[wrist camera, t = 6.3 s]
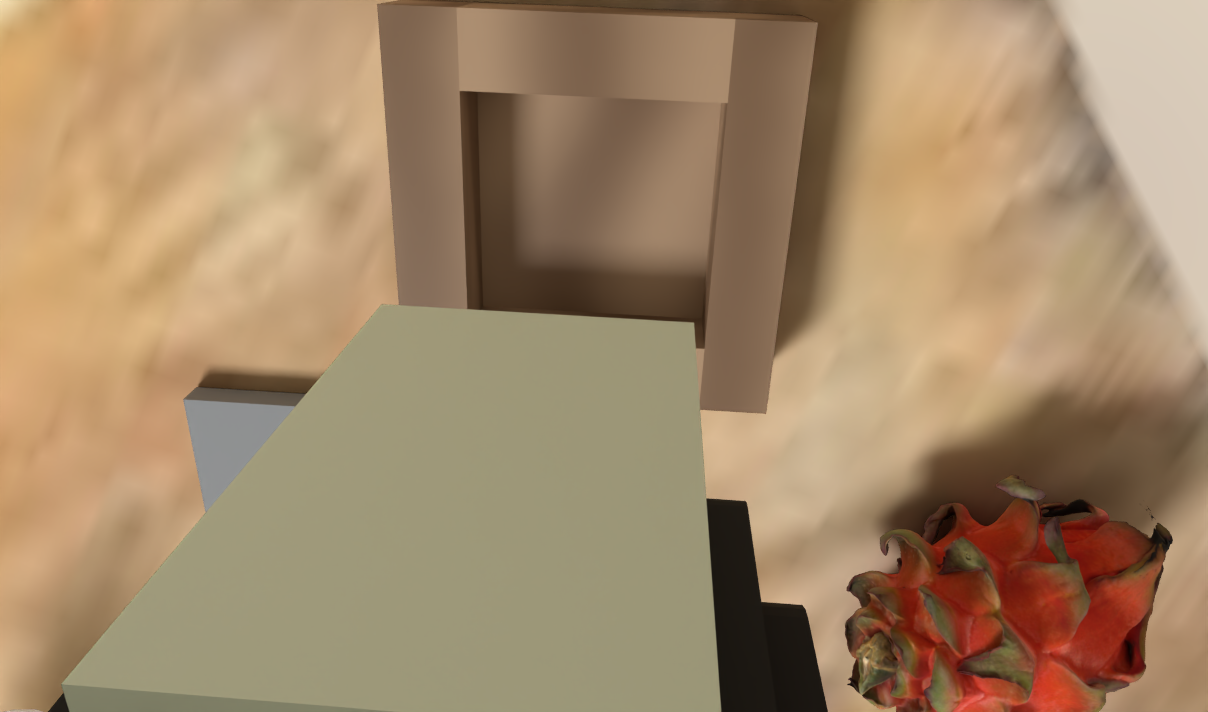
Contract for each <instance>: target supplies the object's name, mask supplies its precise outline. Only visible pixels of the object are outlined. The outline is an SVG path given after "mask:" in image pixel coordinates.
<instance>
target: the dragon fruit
mask: <svg viewBox="0 0 1208 712" xmlns="http://www.w3.org/2000/svg"><path fill="white" fill-rule="evenodd" d="M995 486H996V487H997V488H999V489H1001V490H1003V491H1005V492H1007V493H1008V494H1009V495H1011V496H1013V497H1016V498H1015V499H1014V500H1013V501H1012V502H1011V504H1010V505H1009V506H1008V508H1007V509H1006V511H1005V512H1004V513H1003V514H1002V515H1001V516H1000V517H999V518H998V519H997V521H996V522H994V523H993V524H991V525H989V526H983V525H980V524H979V523H978V522H976V521H975V520H974V519H972V517H971V516H970V514H969V512H968V510H967V509H966V507H965V506H963V505H962V504H960V503H947V504H944V505H941V506H940V507H939V509H938V511H937V512H936V513H935V514H933V515H931V516H930V517H929V518H928V519H927V521H926V522H925V524H924V530H925V533H924V534H923V536H922V537H921V536H920V535H919V534H917V533H915V532H913V531H910V530H906V529H896V530H892V531H889V532H887V533H885V534H884V535H883V536H882V537H881V538H880V547H881V551H882V552H883V554H884V555H885V556H886V555H887V553H888V548H889V547H888V542H889V540H891V539H892V538H893V537H895V538H896V539H897V540H898V543H899V546H900V551H901V558H898V559H897V562H898V565H897V566H898V569H899V573H898V574H886V573H882V572H879V571H868V572H865V573H862V574H859V575H856V576H854V577H853V578H852V579H851V581H850V582H849V585H848V586H847V591H848V592H849V591H850V592H851V593H852V594H853V595H854V596H855V597H857V598H858V599H859V601H860V604H861V607H862V608H860V609H858V610H857V611H856V612H855V613H854V615H853V616H851V617H850V618H849V619H848V620H847V621H846V623H845V628H846V629H845V636H846V639H847V646H848V649H849V652H850V653H851V655H852V656H853V657H854V658H856V661H855V664H854V666H853V670H852V678H850V679H848V680H850V681H851V683H850V684H847V685H850V686H852V687H854V688H855V690H856V691H857V692H858V693H860V694H861V695H862V696H863V697H864V698H865V699H867V700H868V701H869V702H870V703H871V704H873V705H874V706H876V707H877V708H879V709H887V708H891V707H894V706H896V712H1099V711H1100V710H1101V709H1102V708H1103V706H1104V705H1105V703H1106V693H1108V692H1115V691H1117V690H1119V689H1122V688H1125V687H1127V686H1129V683H1132V682H1135V681H1137V680H1139V679H1140V678H1141V677H1142V675H1143V673H1144V671H1145V669H1146V665H1145V663H1144V661H1145V637H1146V630H1147V625H1148V620H1149V617H1150V615H1151V614H1152V611H1153V602H1154V598H1155V594H1156V591H1157V589H1158V585H1159V581H1160V578H1161V575H1162V572H1163V569H1164V568H1163V562H1164V560H1165V557H1166V555H1165V554H1166V552H1167V550H1168V549H1169V546H1170V544H1172V541H1173V539H1172V536H1171V535H1170V533H1169V531H1168V530H1167V529H1166V528H1165V527H1163V526H1162V525H1161V524H1160V523H1157V525H1156V530H1155V528H1154V532H1153V535H1152V537H1151V538H1149V537H1148V535H1146V534H1144V533H1141V532H1140V531H1139V530H1137V529H1136V528H1134V527H1133V526H1130V525H1129V524H1128V523H1127V522H1118V521H1109V516H1108V514H1107V513H1106V512H1105V511H1104V510H1102V509H1100V508H1098V507H1096V506H1094V505H1092V504H1090V503H1088V502H1086V501H1084V500H1076V501H1074V502H1071V503H1070V504H1069V505H1067V506H1066V505H1065V504H1064V503H1062V502H1057V503H1051V504H1045V503H1044V504H1043V505H1041V506H1039V504H1038V502H1037V501H1036V500H1040V499H1042V498H1044V497H1046V495H1045V493H1044V492H1043V491H1042V490H1039V489H1037V488H1034V487H1031V486H1027V485H1025V481H1024V480H1020V479H1019V476H1016V475H1011V476H1009V477H1007V478H1006V479H1003V480H1001V481H999V482H998V483H997V484H996V485H995ZM1043 509H1048V510H1049V512H1048V513H1045V514H1042V512H1041V510H1043ZM1148 509H1149V508H1148ZM1081 512H1089V513H1092V514H1091V515H1089V516H1087V517H1085V518H1083V519H1080V520H1075V521H1068V522H1064V523H1059V518H1058V516H1065V515H1069V514H1075V513H1081ZM1151 515H1152V514H1151ZM951 516H953V523H952V528H951V530H950V532H949V533H948V534H947V535H946V536H945V537H944V538H942V539H941V540H939V541H938V542H937V543H935V544H934V545H932V543H933V541H934V540H935V538H936V537H937V534H938V531H939V528H940V526H941V524H942V522H943V520H946V519H948V518H949V517H951ZM1055 516H1056V517H1055ZM1041 517H1055V518H1051V519H1050V520H1048V521H1047V523H1046V524H1040V521H1041ZM1151 517H1152V518H1154V517H1153V516H1151ZM1154 519H1155V518H1154Z"/></svg>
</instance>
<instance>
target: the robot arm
mask: <svg viewBox="0 0 1208 712" xmlns="http://www.w3.org/2000/svg"><path fill="white" fill-rule="evenodd" d="M706 501H707V516H708V530H709V544H710V559H711V573H712V587H713V601H714V616H715V630H716V644H717V659H718V673H719V687H720V701H721V712H828V710H827V706H826V701H825V696H824V692H823V687H822V682H821V677H820V673H819V668H818V663H817V658H816V654H815V649H814V644H813V640H812V635H811V630H810V625H809V621H808V617H807V613H806V610H805V608H804V607H803V605H793V604H780V603H767V602H761V597H760V590H759V583H758V576H757V569H756V562H755V555H754V548H753V541H752V534H751V527H750V520H749V514H748V507H747V502H746V501H735V500H721V499H706ZM5 712H43V711H40V710H36V709H23V710H10V711H5ZM48 712H69V708H68V705H67V702H66V699H65V695H64V693H63V694H62V696H61V697H60V698H59V699H58V700H57V702H56V703H55V704H54V705H53V706H52V708H51V709H50V710H49V711H48Z"/></svg>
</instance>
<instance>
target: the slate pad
mask: <svg viewBox="0 0 1208 712" xmlns="http://www.w3.org/2000/svg"><path fill="white" fill-rule="evenodd" d="M305 395H306V394H299V393H283V392H267V391H251V390H235V389H219V388H203V387H196V388H195V389H194V390H193V391H192V392H191V393H190V394H189V395H188V396H187V397H185V398H184V399H183V400H184V405H185V410H186V415H187V420H188V425H189V431H190V436H191V441H192V446H193V451H194V456H195V461H196V466H197V471H198V476H199V481H200V486H201V491H202V496H203V501H204V506H205V511H206V512H207V511H208V509H209V508H210V507H211V506H212V505H213V504H214V502H215V501H216V500H217V499H218V498H219V496H220V495H221V494H222V493H223V492H224V491H225V489H226V488H227V487H228V486H229V485H230V483H231V482H232V481H233V480H234V479H235V477H236V476H237V475H238V474H239V473H240V472H241V470H242V469H243V468H244V467H245V466H246V464H247V463H248V462H249V461H250V460H251V459H252V457H253V456H254V455H255V454H256V453H257V451H258V450H259V449H260V448H261V447H262V446H263V444H264V443H265V442H266V441H267V440H268V438H269V437H270V436H271V435H272V434H273V432H274V431H275V430H276V429H277V428H278V427H279V425H280V424H281V423H282V422H283V421H284V419H285V418H286V417H287V416H288V415H289V414H290V412H291V411H292V410H293V409H294V408H295V406H296V405H297V404H298V403H299V402H300V400H301V399H302V398H303V397H304V396H305Z"/></svg>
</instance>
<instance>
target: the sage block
mask: <svg viewBox="0 0 1208 712" xmlns="http://www.w3.org/2000/svg"><path fill="white" fill-rule="evenodd" d="M61 686H62V689H63V692H64V695H65V699H66V702H67V705H68V708H69V712H721V701H720V687H719V673H718V659H717V644H716V630H715V616H714V601H713V587H712V573H711V559H710V544H709V530H708V516H707V501H706V487H705V473H704V459H703V444H702V430H701V416H700V401H699V387H698V373H697V359H696V344H695V330H694V323H691V322H674V321H657V320H640V319H623V318H607V317H590V316H573V315H556V314H539V313H522V312H505V311H488V310H471V309H454V308H438V307H421V306H404V305H387V304H382V305H381V306H380V307H379V308H378V309H377V310H376V312H375V313H374V314H373V315H372V316H371V318H370V319H369V320H368V321H367V322H366V324H365V325H364V326H363V327H362V328H361V329H360V331H359V332H358V333H357V334H356V335H355V337H354V338H353V339H352V340H351V341H350V342H349V344H348V345H347V346H346V347H345V348H344V350H343V351H342V352H341V353H340V354H339V355H338V357H337V358H336V359H335V360H334V361H333V363H332V364H331V365H330V366H329V367H328V369H327V370H326V371H325V372H324V373H323V374H322V376H321V377H320V378H319V379H318V380H317V382H316V383H315V384H314V385H313V386H312V387H311V389H310V390H309V391H308V392H307V393H306V395H305V396H304V397H303V398H302V399H301V400H300V402H299V403H298V404H297V405H296V406H295V408H294V409H293V410H292V411H291V412H290V414H289V415H288V416H287V417H286V418H285V419H284V421H283V422H282V423H281V424H280V425H279V427H278V428H277V429H276V430H275V431H274V432H273V434H272V435H271V436H270V437H269V438H268V440H267V441H266V442H265V443H264V444H263V446H262V447H261V448H260V449H259V450H258V451H257V453H256V454H255V455H254V456H253V457H252V459H251V460H250V461H249V462H248V463H247V464H246V466H245V467H244V468H243V469H242V470H241V472H240V473H239V474H238V475H237V476H236V477H235V479H234V480H233V481H232V482H231V483H230V485H229V486H228V487H227V488H226V489H225V491H224V492H223V493H222V494H221V495H220V496H219V498H218V499H217V500H216V501H215V502H214V504H213V505H212V506H211V507H210V508H209V509H208V511H207V512H206V513H205V514H204V515H203V517H202V518H201V519H200V520H199V521H198V523H197V524H196V525H195V526H194V527H193V528H192V530H191V531H190V532H189V533H188V534H187V536H186V537H185V538H184V539H183V540H182V541H181V543H180V544H179V545H178V546H177V547H176V549H175V550H174V551H173V552H172V553H171V554H170V556H169V557H168V558H167V559H166V560H165V562H164V563H163V564H162V565H161V566H160V568H159V569H158V570H157V571H156V572H155V573H154V575H153V576H152V577H151V578H150V579H149V581H148V582H147V583H146V584H145V585H144V586H143V588H142V589H141V590H140V591H139V592H138V594H137V595H136V596H135V597H134V598H133V600H132V601H131V602H130V603H129V604H128V605H127V607H126V608H125V609H124V610H123V611H122V613H121V614H120V615H119V616H118V617H117V618H116V620H115V621H114V622H113V623H112V624H111V626H110V627H109V628H108V629H107V630H106V631H105V633H104V634H103V635H102V636H101V637H100V639H99V640H98V641H97V642H96V643H95V645H94V646H93V647H92V648H91V649H90V650H89V652H88V653H87V654H86V655H85V656H84V658H83V659H82V660H81V661H80V662H79V663H78V665H77V666H76V667H75V668H74V669H73V671H72V672H71V673H70V674H69V675H68V676H67V678H66V679H65V680H64V681H63V682H62V684H61Z"/></svg>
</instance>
